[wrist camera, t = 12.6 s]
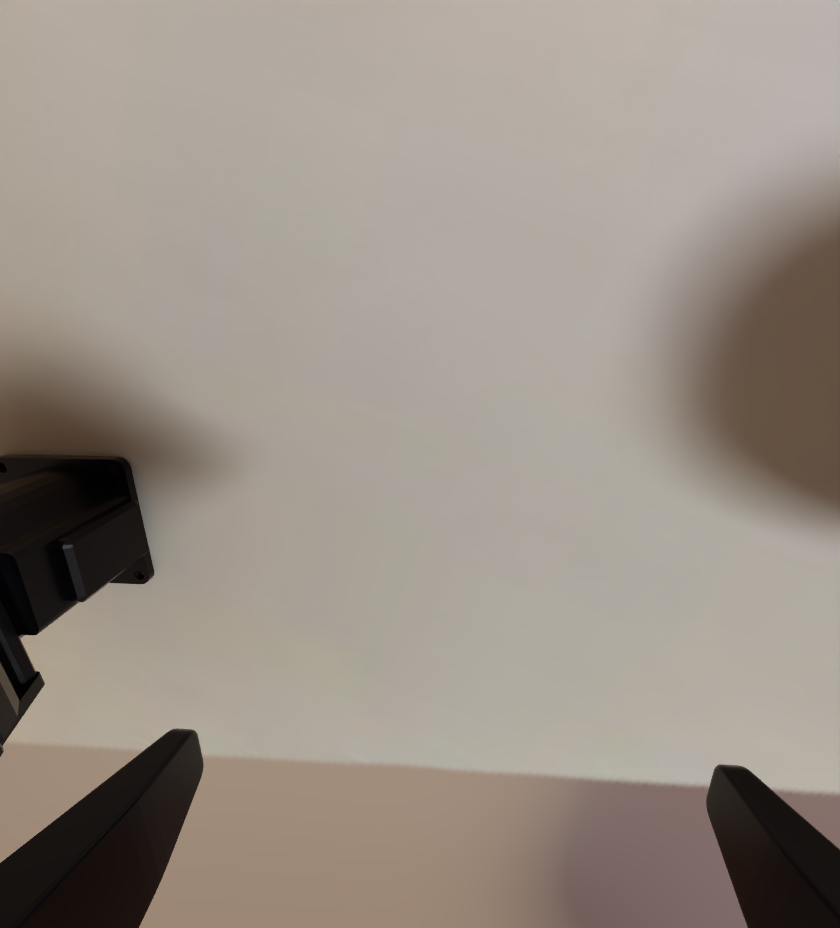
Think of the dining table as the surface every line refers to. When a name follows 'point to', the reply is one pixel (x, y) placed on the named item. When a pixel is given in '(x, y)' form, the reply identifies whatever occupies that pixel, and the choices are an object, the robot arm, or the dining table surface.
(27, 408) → the dining table surface
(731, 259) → the dining table surface
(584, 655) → the dining table surface
